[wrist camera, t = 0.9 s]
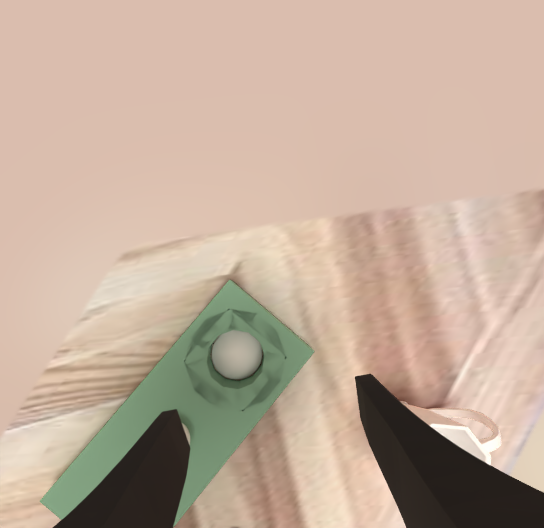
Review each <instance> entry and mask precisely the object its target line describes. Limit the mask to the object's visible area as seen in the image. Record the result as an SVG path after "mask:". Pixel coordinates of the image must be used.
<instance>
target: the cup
mask: <svg viewBox="0 0 544 528" xmlns="http://www.w3.org/2000/svg"><path fill="white" fill-rule="evenodd" d="M400 402H401V403H402V404H404V405H405V406H406V407H407V408H408V409H409V410H411V411H412V412H413V413H414V414H415V415H417V416H418V417H419V418H420V419H422V420H423V421H424V422H425V423H427V424H428V425H429V426H431V427H432V428H433V429H435V430H436V431H437V432H439V433H440V434H441V435H443V436H444V437H446V438H447V439H449V440H450V441H452V442H453V443H455V444H456V445H457V446H459V447H461V448H462V449H464V450H465V451H467V452H468V453H470V454H472V455H473V456H475V457H477V458H479V459H480V460H482V461H484V462H486V463H487V464H489V465H490V464H491V456H490V454H489V452H491V451H493V450H496V449H497V448H498V447H499V446H500V445H501V434H500V431H499V428H498V426H497V425H496V424H495V423H494V422H493V421H492V420H491V419H490V418H488V417H487V416H485V415H484V414H482V413H480V412H477V411H474V410H470V409H461V408H431V409H425V408H421V407H417V406H413V405H409V404H408V403H407V402H406V401H400ZM448 418H466V419H472V420H475V421H478V422H481V423H483V424H484V425H486V426H487V427H488V428H490V429H491V431H492V432H493V435H492V436H491V437H489V438H484V439H479V440H478V439H477V438H476V437H475V436H474V434H473V433H472V432H471V431H470V429H469V428H468V427H467V426H465V425H462V424H460V423H458V422H455V421H453V420H451V419H448Z"/></svg>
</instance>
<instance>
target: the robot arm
mask: <svg viewBox="0 0 544 528" xmlns="http://www.w3.org/2000/svg"><path fill="white" fill-rule="evenodd" d="M355 381H356V388H357V396H358V403H359V410H360V418H361V421H362V424H363V427H364V430H365V433H366V436H367V439H368V442H369V445H370V447H371V449H372V451H373V454H374V456H375V458H376V460H377V462H378V465H379V467H380V469H381V471H382V473H383V476H384V478H385V480H386V482H387V484H388V486H389V489H390V491H391V493H392V495H393V497H394V499H395V502H396V504H397V506H398V508H399V511H400V513H401V515H402V518H403V520H404V523H405V525H406V528H544V493H543V492H541V491H539V490H536V489H535V488H533V487H531V486H529V485H527V484H525V483H523V482H521V481H519V480H517V479H515V478H513V477H511V476H509V475H507V474H505V473H503V472H501V471H500V470H498V469H496V468H494V467H493V466H491V465H489V464H487V463H486V462H484V461H482V460H480V459H479V458H477V457H475V456H473V455H472V454H470V453H468V452H467V451H465V450H464V449H462V448H461V447H459V446H457V445H456V444H455V443H453V442H452V441H450V440H449V439H447V438H446V437H444V436H443V435H441V434H440V433H439V432H437V431H436V430H435V429H433V428H432V427H431V426H429V425H428V424H427V423H425V422H424V421H423V420H422V419H420V418H419V417H418V416H417V415H415V414H414V413H413V412H412V411H411V410H409V409H408V408H407V407H406V406H405V405H404V404H402V403H401V402H400V401H399V400H398V399H397V398H396V397H394V396H393V395H392V394H391V393H390V392H389V391H388V390H387V389H386V388H385V387H384V386H383V385H382V384H381V383H380V382H379V381H378V380H377V379H376V378H375V377H374V376H373V375H371V374H367V375H361V376H356V377H355ZM190 449H191V448H190V445H189V442H188V440H187V437H186V434H185V431H184V428H183V425H182V422H181V419H180V417H179V414H178V411H177V409H174V410H168V411H163V412H161V413H160V415H159V416H158V417H157V418H156V419H155V420H154V421H153V423H152V424H151V425H150V426H149V427H148V429H147V430H146V431H145V432H144V433H143V435H142V436H141V437H140V438H139V439H138V441H137V442H136V443H135V444H134V445H133V446H132V448H131V449H130V450H129V451H128V452H127V454H126V455H125V456H124V457H123V458H122V459H121V460H120V462H119V463H118V464H117V465H116V466H115V467H114V468H113V469H112V470H111V471H110V472H109V474H108V475H107V476H106V477H105V478H104V479H103V480H102V481H101V482H100V483H99V484H98V485H97V487H96V488H95V489H94V490H93V491H92V492H91V493H90V494H89V495H88V496H87V497H86V498H85V499H84V500H83V501H81V502H80V503H79V504H78V505H77V506H76V507H75V508H74V509H73V510H72V511H71V512H70V513H69V514H68V515H67V516H66V517H65V518H63V519H62V520H61V521H60V522H59V523H58V524H57V525H55V526H54V527H53V528H173V526H174V522H175V518H176V515H177V511H178V507H179V503H180V500H181V496H182V492H183V488H184V484H185V480H186V476H187V470H188V464H189V456H190Z"/></svg>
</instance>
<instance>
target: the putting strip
mask: <svg viewBox="0 0 544 528" xmlns="http://www.w3.org/2000/svg"><path fill="white" fill-rule="evenodd" d="M219 335H220V336H219ZM218 336H219V337H218ZM217 337H218V338H217ZM216 338H217V340H216ZM215 340H216V341H215ZM214 341H215V343H214V345H213V349H212V344H213V342H214ZM211 349H212V360H213V363H212V360H211V357H210V354H211ZM262 350H263V353H264V354H263V359H262ZM314 352H315V351H314V350H313V349H312V348H311V347H310V346H309V345H308V344H307V343H305V342H304V341H303V340H302V339H301V338H299V337H298V336H297V335H296V334H295V333H294V332H292V331H291V330H290V329H289V328H288V327H287V326H285V325H284V324H283V323H282V322H281V321H279V320H278V319H277V318H276V317H275V316H274V315H272V314H271V313H270V312H269V311H268V310H266V309H265V308H264V307H263V306H262V305H261V304H259V303H258V302H257V301H256V300H255V299H253V298H252V297H251V296H250V295H249V294H248V293H246V292H245V291H244V290H243V289H242V288H240V287H239V286H238V285H237V284H236V283H235V282H233V281H232V280H229V281H228V282H227V283H226V285H225V286H224V287H223V288H222V289H221V290H220V292H219V293H218V294H217V295H216V296H215V297H214V299H213V300H212V301H211V302H210V303H209V304H208V306H207V307H206V308H205V309H204V310H203V311H202V313H201V314H200V315H199V316H198V317H197V318H196V320H195V321H194V322H193V323H192V324H191V325H190V326H189V328H188V329H187V330H186V331H185V332H184V333H183V335H182V336H181V337H180V338H179V339H178V340H177V342H176V343H175V344H174V345H173V346H172V347H171V349H170V350H169V351H168V352H167V353H166V354H165V356H164V357H163V358H162V359H161V360H160V361H159V363H158V364H157V365H156V366H155V367H154V368H153V370H152V371H151V372H150V373H149V374H148V375H147V377H146V378H145V379H144V380H143V381H142V382H141V384H140V385H139V386H138V387H137V388H136V389H135V391H134V392H133V393H132V394H131V395H130V396H129V398H128V399H127V400H126V401H125V402H124V403H123V405H122V406H121V407H120V408H119V409H118V410H117V412H116V413H115V414H114V415H113V416H112V417H111V419H110V420H109V421H108V422H107V423H106V424H105V426H104V427H103V428H102V429H101V430H100V431H99V433H98V434H97V435H96V436H95V437H94V438H93V440H92V441H91V442H90V443H89V444H88V445H87V447H86V448H85V449H84V450H83V451H82V452H81V454H80V455H79V456H78V457H77V458H76V459H75V461H74V462H73V463H72V464H71V465H70V466H69V468H68V469H67V470H66V471H65V472H64V473H63V475H62V476H61V477H60V478H59V479H58V480H57V482H56V483H55V484H54V485H53V486H52V487H51V488H50V490H49V491H48V492H47V493H46V494H45V495H44V497H43V498H42V499H41V500H40V502H41V503H42V504H43V505H44V506H46V507H47V508H48V509H49V510H50V511H52V512H53V513H54V514H55V515H56V516H58V517H59V518H60V519H61V520H62V519H63V518H65V517H66V516H67V515H68V514H69V513H70V512H71V511H72V510H73V509H74V508H75V507H76V506H77V505H78V504H79V503H80V502H81V501H83V500H84V499H85V498H86V497H87V496H88V495H89V494H90V493H91V492H92V491H93V490H94V489H95V488H96V487H97V485H98V484H99V483H100V482H101V481H102V480H103V479H104V478H105V477H106V476H107V475H108V474H109V472H110V471H111V470H112V469H113V468H114V467H115V466H116V465H117V464H118V463H119V462H120V460H121V459H122V458H123V457H124V456H125V455H126V454H127V452H128V451H129V450H130V449H131V448H132V446H133V445H134V444H135V443H136V442H137V441H138V439H139V438H140V437H141V436H142V435H143V433H144V432H145V431H146V430H147V429H148V427H149V426H150V425H151V424H152V423H153V421H154V420H155V419H156V418H157V417H158V416H159V415H160V413H161V412H163V411H168V410H174V409H177V411H178V414H179V417H180V419H181V422H182V423H183V424H184V425H185V426H186V427H187V429H188V431H189V434H190V448H191V449H190V456H189V464H188V470H187V476H186V480H185V484H184V488H183V492H182V496H181V500H180V503H179V507H178V511H177V515H176V518H175V522H174V526H175V525H176V523H177V522H178V521H179V520H180V518H181V517H182V516H183V515H184V513H185V512H186V511H187V510H188V509H189V507H190V506H191V505H192V504H193V502H194V501H195V500H196V499H197V497H198V496H199V495H200V494H201V492H202V491H203V490H204V489H205V487H206V486H207V485H208V484H209V482H210V481H211V480H212V479H213V477H214V476H215V475H216V474H217V472H218V471H219V470H220V469H221V467H222V466H223V465H224V464H225V462H226V461H227V460H228V459H229V457H230V456H231V455H232V454H233V453H234V451H235V450H236V449H237V448H238V446H239V445H240V444H241V443H242V441H243V440H244V439H245V438H246V436H247V435H248V434H249V433H250V431H251V430H252V429H253V428H254V426H255V425H256V424H257V423H258V421H259V420H260V419H261V418H262V416H263V415H264V414H265V413H266V411H267V410H268V409H269V408H270V406H271V405H272V404H273V403H274V401H275V400H276V399H277V398H278V396H279V395H280V394H281V393H282V392H283V390H284V389H285V388H286V387H287V385H288V384H289V383H290V382H291V380H292V379H293V378H294V377H295V375H296V374H297V373H298V372H299V370H300V369H301V368H302V367H303V365H304V364H305V363H306V362H307V360H308V359H309V358H310V357H311V355H312V354H313V353H314ZM261 359H262V365H261V366H260V367H259V365H260V363H261ZM213 364H214V366H215V368H216V369H217V371H218V372H219V373H218V372H217V371H216V370H215V369H214V366H213ZM258 367H259V368H258ZM257 368H258V370H257ZM256 370H257V371H256ZM255 371H256V372H255ZM254 372H255V373H254ZM253 373H254V374H253ZM221 374H222V375H223V376H225V377H227V378H230V379H226V378H224V377H223V376H222V375H221ZM252 374H253V376H250V375H252ZM248 376H250V377H248ZM246 377H248V378H246ZM243 378H245V379H243ZM232 379H242V380H240V381H238V380H232ZM174 526H173V527H174Z"/></svg>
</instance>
